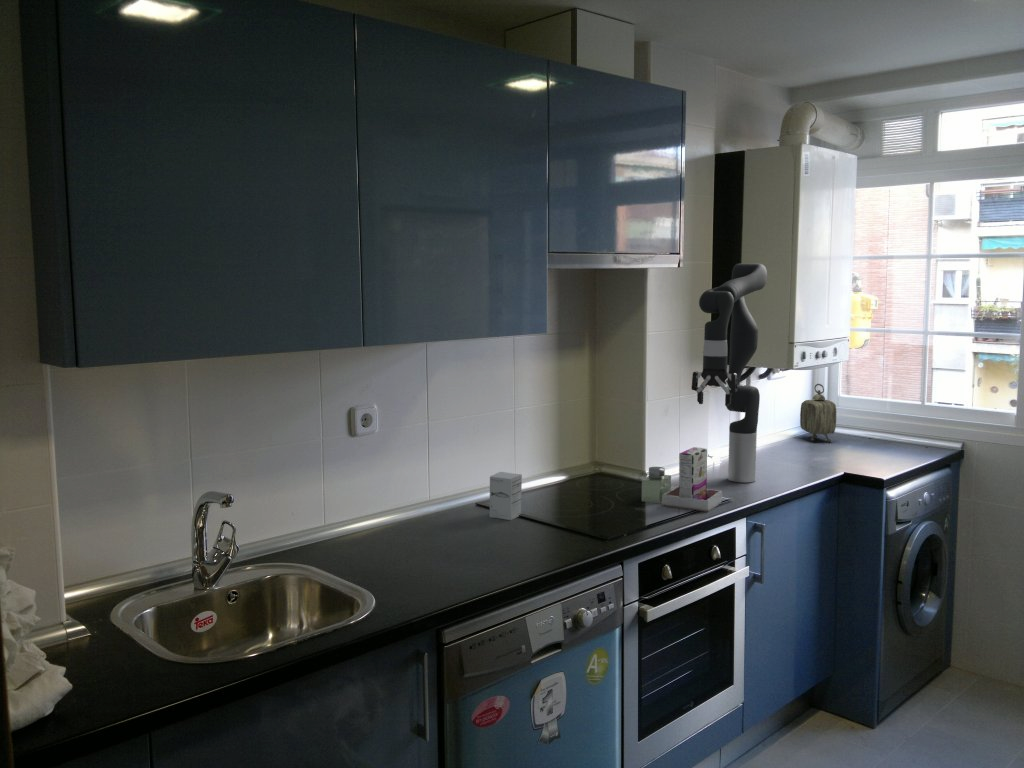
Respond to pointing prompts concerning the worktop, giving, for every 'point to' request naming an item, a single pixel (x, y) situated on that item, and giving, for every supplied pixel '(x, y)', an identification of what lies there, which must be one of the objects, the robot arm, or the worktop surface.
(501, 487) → the supplement box
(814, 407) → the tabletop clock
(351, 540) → the worktop surface
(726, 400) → the robot arm
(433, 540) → the worktop surface
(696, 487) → the candy bar box
